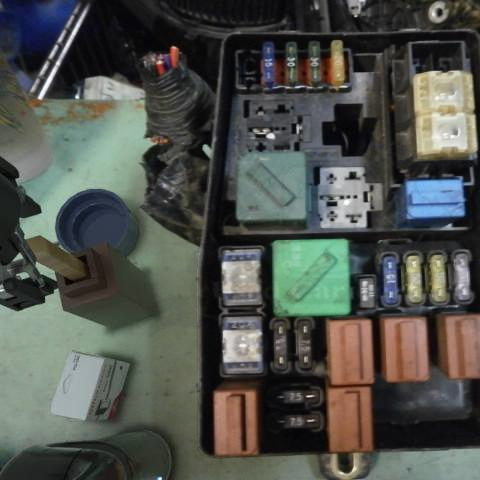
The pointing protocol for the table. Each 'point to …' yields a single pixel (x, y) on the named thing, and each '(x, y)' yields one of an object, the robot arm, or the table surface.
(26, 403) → the table surface
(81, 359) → the ink box
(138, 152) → the table surface
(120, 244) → the bowl
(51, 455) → the robot arm
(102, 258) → the stand
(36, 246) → the stirring stick
